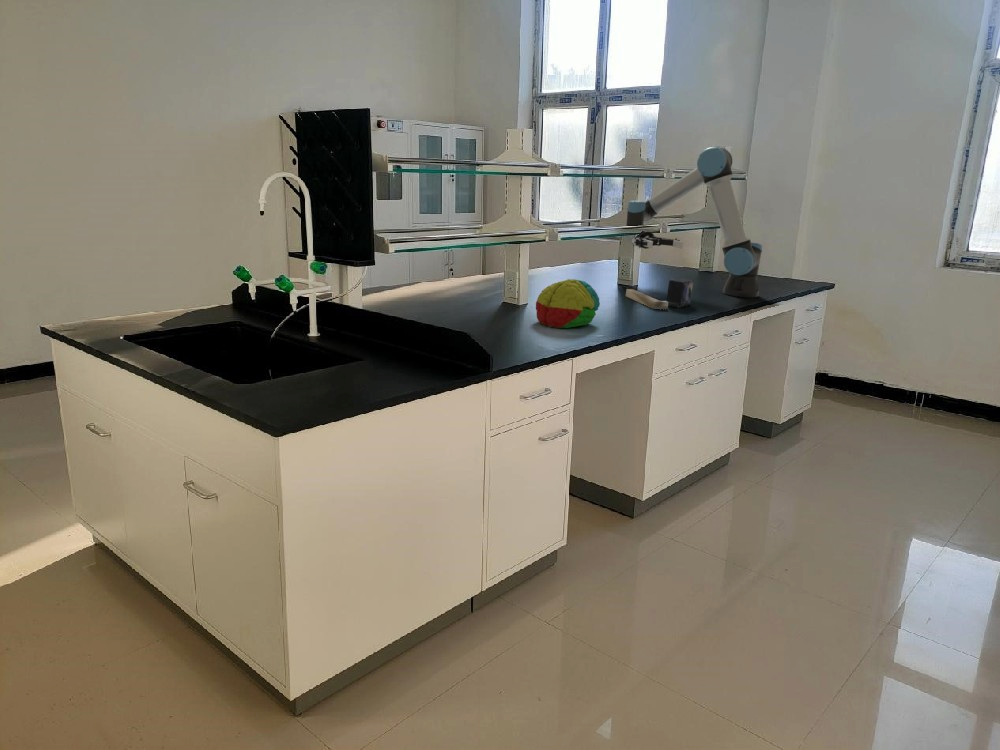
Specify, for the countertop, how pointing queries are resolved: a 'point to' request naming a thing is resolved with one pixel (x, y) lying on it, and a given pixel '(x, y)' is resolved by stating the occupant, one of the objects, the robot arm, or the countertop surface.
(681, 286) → the small box
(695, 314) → the countertop surface
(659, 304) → the bar
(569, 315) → the brain model
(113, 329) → the countertop surface
